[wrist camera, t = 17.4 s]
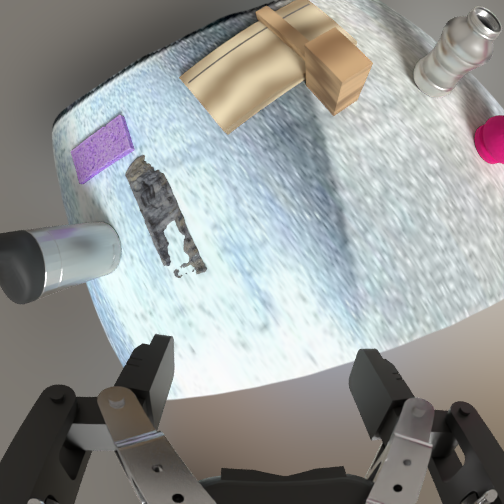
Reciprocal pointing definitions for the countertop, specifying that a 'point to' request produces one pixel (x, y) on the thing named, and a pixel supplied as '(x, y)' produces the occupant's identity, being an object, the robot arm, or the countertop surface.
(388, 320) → the countertop surface
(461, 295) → the countertop surface
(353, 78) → the block
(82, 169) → the sponges
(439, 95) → the plastic bottle
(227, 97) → the pine board
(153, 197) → the driftwood
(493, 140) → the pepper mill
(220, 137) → the countertop surface
